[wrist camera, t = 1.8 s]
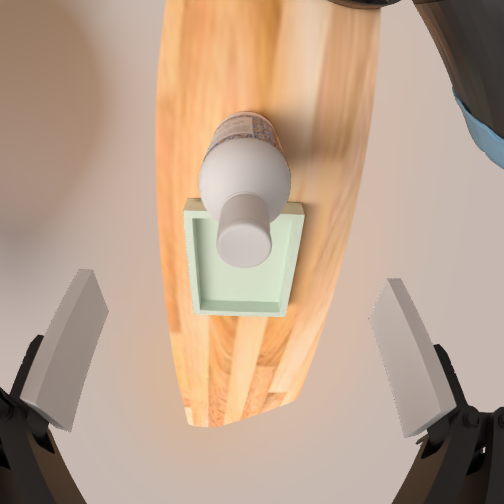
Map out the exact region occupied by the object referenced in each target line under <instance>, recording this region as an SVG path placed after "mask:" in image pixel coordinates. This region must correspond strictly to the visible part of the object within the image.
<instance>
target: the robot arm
mask: <svg viewBox="0 0 504 504" xmlns="http://www.w3.org/2000/svg"><path fill="white" fill-rule="evenodd" d="M328 1H330V2H333V3H336V4H339V5H342V6H346V7H351V8H358V9H373V8H380V7H384V6H387V5H391V4H394V3H397V2H399V1H400V0H328ZM412 1H413V3H414V5H415V7H416V8H417V10H418V12H419V14H420V15H421V17H422V19H423V21H424V23H425V25H426V26H427V28H428V30H429V32H430V34H431V36H432V38H433V40H434V42H435V44H436V46H437V49H438V51H439V53H440V55H441V57H442V60H443V62H444V64H445V67H446V69H447V72H448V74H449V77H450V80H451V82H452V85H453V87H452V89H453V93H454V96H455V100H456V101H457V103H458V105H459V106H460V108H461V110H462V112H463V115H464V118H465V120H466V124H467V127H468V130H469V132H470V135H471V136H472V139H473V140H474V142H475V143H476V145H477V146H478V147H479V148H480V149H481V150H482V151H483V152H485V153H486V155H487V156H488V158H490V160H492V161H493V162H494V163H495V164H497V165H498V166H500V167H501V168H502V169H504V0H412ZM108 312H109V311H108V308H107V306H106V303H105V301H104V298H103V296H102V293H101V290H100V288H99V285H98V283H97V280H96V277H95V274H94V271H93V270H89V269H79V270H78V272H77V274H76V276H75V277H74V279H73V281H72V282H71V284H70V286H69V288H68V290H67V292H66V294H65V295H64V297H63V299H62V301H61V303H60V305H59V307H58V309H57V311H56V313H55V315H54V317H53V319H52V321H51V323H50V325H49V328H48V329H47V332H46V334H45V336H43V335H37V337H36V338H35V339H34V340H33V341H32V342H31V343H30V345H29V348H28V350H27V352H26V356H25V357H24V359H23V361H22V362H23V363H22V364H21V366H20V369H19V371H18V374H17V376H16V379H15V381H14V384H13V387H12V389H11V392H10V394H9V395H8V394H7V393H6V392H5V391H4V390H3V389H2V388H1V387H0V504H87V503H86V502H85V500H84V498H83V497H82V495H81V493H80V491H79V489H78V488H77V486H76V484H75V482H74V480H73V479H72V477H71V475H70V473H69V471H68V469H67V467H66V465H65V463H64V461H63V458H62V456H61V454H60V452H59V450H58V447H57V445H56V443H55V441H54V438H53V436H52V433H51V431H50V430H49V428H48V425H49V423H51V424H52V425H53V426H55V427H56V428H59V429H62V430H65V431H68V432H71V429H72V425H73V421H74V417H75V413H76V409H77V406H78V402H79V399H80V395H81V392H82V388H83V385H84V381H85V378H86V375H87V372H88V369H89V366H90V363H91V359H92V356H93V353H94V351H95V348H96V345H97V341H98V339H99V336H100V334H101V331H102V328H103V325H104V322H105V320H106V317H107V315H108ZM368 319H369V321H370V324H371V327H372V330H373V333H374V336H375V339H376V342H377V344H378V348H379V351H380V354H381V357H382V360H383V363H384V367H385V370H386V373H387V376H388V380H389V383H390V386H391V390H392V393H393V397H394V400H395V404H396V408H397V411H398V415H399V419H400V423H401V426H402V431H403V435H404V438H407V437H411V436H414V435H418V434H420V433H421V432H423V431H424V430H426V429H427V432H428V434H426V435H425V436H423V437H422V438H420V439H419V440H418V441H417V442H416V444H417V445H418V444H419V443H421V442H423V443H422V445H421V447H420V450H419V452H418V454H417V456H416V458H415V460H414V463H413V465H412V467H411V469H410V471H409V473H408V475H407V477H406V479H405V481H404V483H403V484H402V486H401V488H400V490H399V492H398V493H397V495H396V497H395V499H394V500H393V502H392V504H504V407H500V408H498V409H497V410H496V411H494V412H493V413H485V412H479V411H478V410H477V409H476V408H475V407H473V406H469V405H468V404H467V402H466V400H465V397H464V394H463V391H462V389H461V386H460V384H459V381H458V378H457V376H456V374H455V373H454V369H453V366H452V365H451V361H450V359H449V357H448V354H447V353H446V351H445V350H444V349H443V348H442V347H441V346H440V344H437V345H433V344H432V342H431V340H430V337H429V335H428V333H427V331H426V329H425V326H424V324H423V322H422V320H421V318H420V316H419V314H418V312H417V309H416V307H415V306H414V303H413V301H412V300H411V297H410V295H409V294H408V292H407V290H406V288H405V286H404V284H403V282H402V280H401V279H387V280H386V282H385V284H384V287H383V289H382V291H381V293H380V295H379V297H378V300H377V302H376V304H375V306H374V308H373V310H372V312H371V314H370V317H369V318H368ZM484 447H486V448H485V453H483V448H484Z"/></svg>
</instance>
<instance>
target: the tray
mask: <svg viewBox="0 0 504 504" xmlns="http://www.w3.org/2000/svg"><path fill="white" fill-rule="evenodd" d="M183 215H184V227H185V238H186V249H187V259H188V268H189V277H190V286H191V294H192V302H193V310H194V314H203V315H225V316H261V317H285V315H286V311H287V306H288V301H289V296H290V291H291V286H292V281H293V276H294V271H295V266H296V261H297V256H298V250H299V245H300V240H301V234H302V229H303V223H304V217H305V214H304V211H303V208H302V205H301V203H295V202H287V203H286V205H285V207H284V209H283V211H282V212H281V213H280V215H279V216H278V217H277V218H276V219H275V220H274V221H273V222H271V223H270V235H271V238H272V250H271V253H270V255H269V257H268V258H267V259H266V260H265V261H264V262H263V263H261V264H260V265H258V266H255V267H252V268H237V267H233V266H231V265H229V264H227V263H226V262H224V261H223V260H222V259H221V257H220V256H219V254H218V252H217V248H216V240H217V233H218V226H219V223H218V222H217V221H216V220H214V219H213V218H212V216H211V215H210V214H209V213H208V211H207V210H206V208H205V206H204V204H203V202H202V199H187V201H186V204H185V207H184V210H183Z"/></svg>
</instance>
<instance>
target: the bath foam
mask: <svg viewBox="0 0 504 504" xmlns="http://www.w3.org/2000/svg"><path fill="white" fill-rule="evenodd" d="M290 188H291V175H290V169H289V166H288V163H287V161H286V158H285V155H284V152H283V150H282V147H281V144H280V141H279V139H278V136H277V134H276V131H275V129H274V127H273V126H272V124H271V123H270V122H269V121H268V120H267V119H266V118H265V117H263V116H262V115H260V114H257V113H254V112H237V113H234V114H232V115H230V116H228V117H226V118H225V119H224V120H223V121H222V122H221V123H220V124H219V126H218V127H217V129H216V131H215V133H214V136H213V138H212V140H211V143H210V145H209V148H208V150H207V153H206V155H205V158H204V160H203V164H202V167H201V170H200V175H199V191H200V196H201V199H202V202H203V204H204V206H205V208H206V210H207V211H208V213H209V214H210V215H211V216H212V218H213V219H214V220H216V221H217V222H218V223H219V226H218V233H217V240H216V248H217V252H218V254H219V256H220V257H221V259H222V260H223V261H224V262H226V263H227V264H229V265H231V266H233V267H237V268H252V267H255V266H258V265H260V264H261V263H263V262H264V261H265V260H266V259H267V258H268V257H269V255H270V253H271V250H272V238H271V235H270V223H271V222H273V221H274V220H275V219H276V218H277V217H278V216H279V215H280V213H281V212H282V211H283V209H284V207H285V205H286V203H287V201H288V198H289V194H290Z"/></svg>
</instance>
